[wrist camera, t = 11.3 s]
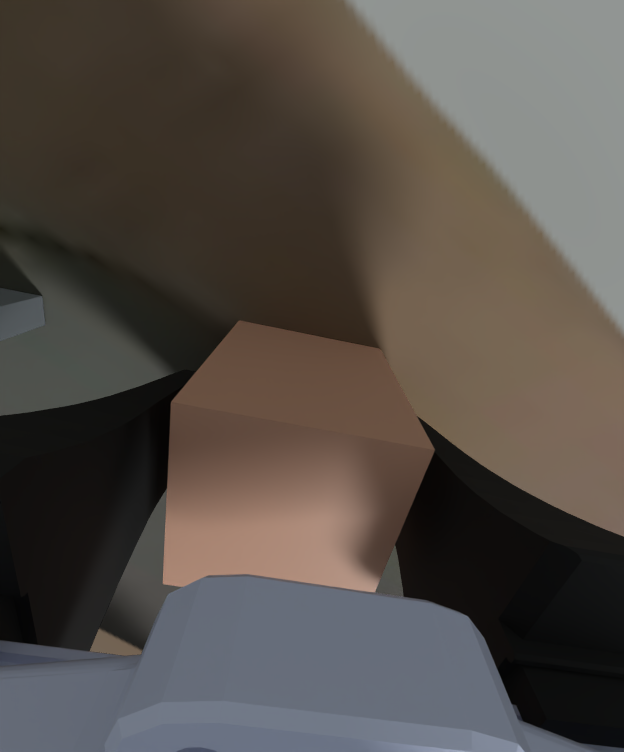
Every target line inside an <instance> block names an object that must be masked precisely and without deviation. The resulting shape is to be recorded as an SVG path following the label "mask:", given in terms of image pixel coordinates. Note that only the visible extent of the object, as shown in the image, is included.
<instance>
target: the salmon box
mask: <svg viewBox="0 0 624 752" xmlns="http://www.w3.org/2000/svg"><path fill="white" fill-rule="evenodd" d="M434 451H435V449H434V447H433V445H432V443H431V442H430V440H429V438H428V436H427V434H426V432H425V431H424V429H423V427H422V425H421V423H420V421H419V419H418V418H417V416H416V414H415V412H414V410H413V408H412V407H411V405H410V403H409V401H408V399H407V397H406V395H405V394H404V392H403V390H402V388H401V386H400V384H399V382H398V381H397V379H396V377H395V375H394V373H393V371H392V370H391V368H390V366H389V364H388V362H387V360H386V358H385V357H384V355H383V353H382V351H381V349H379V348H374V347H369V346H364V345H359V344H354V343H349V342H344V341H339V340H334V339H329V338H324V337H319V336H315V335H310V334H305V333H300V332H295V331H290V330H285V329H280V328H275V327H270V326H265V325H260V324H255V323H250V322H245V321H240V320H239V321H238V322H237V323H236V325H235V326H234V327H233V328H232V329H231V331H230V332H229V333H228V334H227V335H226V337H225V338H224V339H223V340H222V341H221V343H220V344H219V345H218V346H217V347H216V349H215V350H214V351H213V352H212V353H211V355H210V356H209V357H208V358H207V359H206V361H205V362H204V363H203V364H202V365H201V367H200V368H199V369H198V370H197V371H196V373H195V374H194V375H193V376H192V377H191V379H190V380H189V381H188V382H187V383H186V385H185V386H184V387H183V388H182V389H181V391H180V392H179V393H178V394H177V395H176V397H175V398H174V399H173V400H172V401H171V413H170V435H169V457H168V480H167V502H166V524H165V547H164V569H163V584H166V585H173V586H180V587H184V586H186V585H188V584H190V583H192V582H194V581H196V580H199V579H201V578H203V577H205V576H208V575H234V574H251V575H258V576H264V577H271V578H278V579H285V580H292V581H299V582H305V583H312V584H319V585H326V586H333V587H340V588H346V589H353V590H360V591H367V592H374V593H375V590H376V588H377V586H378V583H379V581H380V578H381V576H382V574H383V571H384V569H385V567H386V564H387V562H388V560H389V557H390V555H391V553H392V550H393V548H394V545H395V543H396V541H397V538H398V536H399V534H400V531H401V529H402V527H403V524H404V522H405V520H406V517H407V515H408V512H409V510H410V508H411V505H412V503H413V501H414V498H415V496H416V494H417V491H418V489H419V487H420V484H421V482H422V479H423V477H424V475H425V472H426V470H427V468H428V465H429V463H430V461H431V458H432V456H433V453H434Z"/></svg>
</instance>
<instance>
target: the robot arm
mask: <svg viewBox="0 0 624 752" xmlns="http://www.w3.org/2000/svg"><path fill="white" fill-rule="evenodd" d="M195 373H196V372H195V371H189V370H184V371H180V372H177V373H174V374H171V375H169V376H166V377H163V378H161V379H158V380H155V381H153V382H150V383H147V384H145V385H142V386H139V387H136V388H133V389H130V390H127V391H124V392H120V393H117V394H114V395H111V396H108V397H104V398H100V399H97V400H93V401H88V402H84V403H80V404H75V405H70V406H65V407H59V408H53V409H47V410H41V411H35V412H29V413H21V414H12V415H3V416H0V752H624V537H623V536H620V535H618V534H615V533H613V532H610V531H608V530H605V529H602V528H600V527H598V526H595V525H593V524H591V523H589V522H586V521H584V520H582V519H580V518H577V517H575V516H573V515H571V514H568V513H566V512H564V511H562V510H560V509H558V508H556V507H554V506H552V505H550V504H548V503H546V502H544V501H542V500H540V499H538V498H536V497H534V496H533V495H531V494H529V493H527V492H525V491H523V490H521V489H520V488H518V487H516V486H514V485H513V484H511V483H509V482H508V481H506V480H504V479H503V478H501V477H499V476H498V475H496V474H495V473H493V472H491V471H490V470H488V469H487V468H485V467H484V466H482V465H481V464H479V463H478V462H477V461H475V460H474V459H472V458H471V457H470V456H468V455H467V454H465V453H464V452H463V451H461V450H460V449H459V448H457V447H456V446H455V445H453V444H452V443H451V442H450V441H448V440H447V439H446V438H444V437H443V436H442V435H441V434H439V433H438V432H437V431H436V430H434V429H433V428H432V427H431V426H429V425H428V424H427V423H426V422H424V421H423V420H422V419H420V418H419V417H418V416H417V418H418V419H419V421H420V423H421V425H422V427H423V429H424V431H425V432H426V434H427V436H428V438H429V440H430V442H431V443H432V445H433V447H434V449H435V451H434V453H433V456H432V458H431V461H430V463H429V465H428V468H427V470H426V472H425V475H424V477H423V479H422V482H421V484H420V487H419V489H418V491H417V494H416V496H415V498H414V501H413V503H412V505H411V508H410V510H409V512H408V515H407V517H406V520H405V522H404V524H403V527H402V529H401V531H400V534H399V536H398V538H397V541H396V543H395V546H396V550H397V555H398V560H399V567H400V573H401V580H402V586H403V593H404V597H401V596H394V595H387V594H380V593H374V592H367V591H360V590H353V589H346V588H340V587H333V586H326V585H319V584H312V583H305V582H299V581H292V580H285V579H278V578H271V577H264V576H258V575H251V574H234V575H208V576H205V577H203V578H201V579H199V580H196V581H194V582H192V583H190V584H188V585H186V586H184V587H182V588H180V589H178V590H176V591H174V592H172V593H169V594H168V595H167V597H166V599H165V601H164V603H163V605H162V607H161V609H160V611H159V613H158V615H157V617H156V619H155V622H154V624H153V627H152V629H151V632H150V634H149V636H148V639H147V641H146V644H145V646H144V649H143V651H142V654H141V655H130V656H122V655H114V654H106V653H98V652H90V648H91V646H92V644H93V641H94V639H95V636H96V634H97V631H98V629H99V627H100V624H101V622H102V620H103V617H104V615H105V613H106V611H107V608H108V606H109V604H110V601H111V599H112V597H113V595H114V592H115V590H116V588H117V585H118V583H119V581H120V579H121V577H122V574H123V572H124V570H125V568H126V566H127V563H128V561H129V559H130V557H131V555H132V553H133V550H134V548H135V546H136V544H137V542H138V540H139V538H140V536H141V534H142V532H143V530H144V527H145V525H146V523H147V521H148V519H149V517H150V515H151V514H152V512H153V510H154V508H155V507H156V505H157V503H158V502H159V500H160V498H161V497H162V495H163V493H164V492H165V490H166V489H167V480H168V457H169V435H170V413H171V401H172V400H173V399H174V398H175V397H176V395H177V394H178V393H179V392H180V391H181V389H182V388H183V387H184V386H185V385H186V383H187V382H188V381H189V380H190V379H191V377H192V376H193V375H194V374H195Z"/></svg>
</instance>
